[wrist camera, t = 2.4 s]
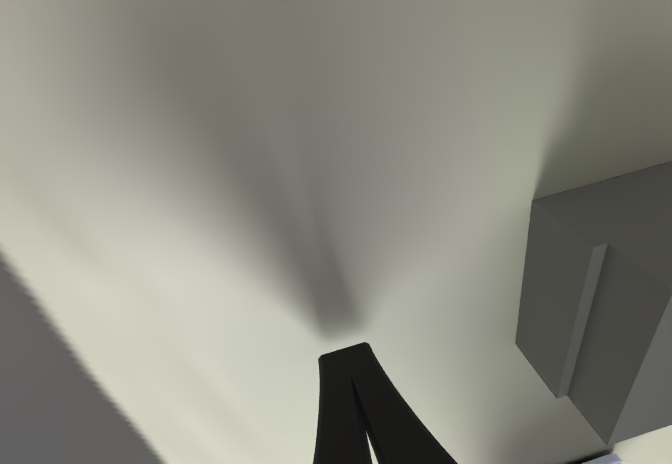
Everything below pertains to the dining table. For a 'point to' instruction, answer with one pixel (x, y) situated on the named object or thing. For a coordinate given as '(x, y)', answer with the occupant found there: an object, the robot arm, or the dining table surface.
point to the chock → (603, 300)
